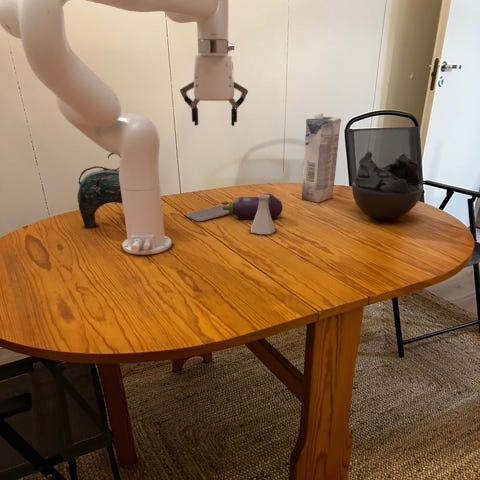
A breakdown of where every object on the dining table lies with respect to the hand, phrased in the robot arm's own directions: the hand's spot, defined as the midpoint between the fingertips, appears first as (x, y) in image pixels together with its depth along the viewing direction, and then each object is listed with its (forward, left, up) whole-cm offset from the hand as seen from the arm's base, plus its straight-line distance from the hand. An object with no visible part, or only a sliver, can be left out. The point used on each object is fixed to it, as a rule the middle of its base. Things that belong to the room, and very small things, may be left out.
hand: (214, 125), depth 117 cm
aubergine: (+6, -11, -27) cm, 30 cm away
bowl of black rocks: (+4, -50, -27) cm, 57 cm away
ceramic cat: (+2, +30, -27) cm, 41 cm away
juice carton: (+27, -34, -27) cm, 51 cm away
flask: (-6, -13, -27) cm, 31 cm away
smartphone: (+10, +2, -27) cm, 29 cm away
